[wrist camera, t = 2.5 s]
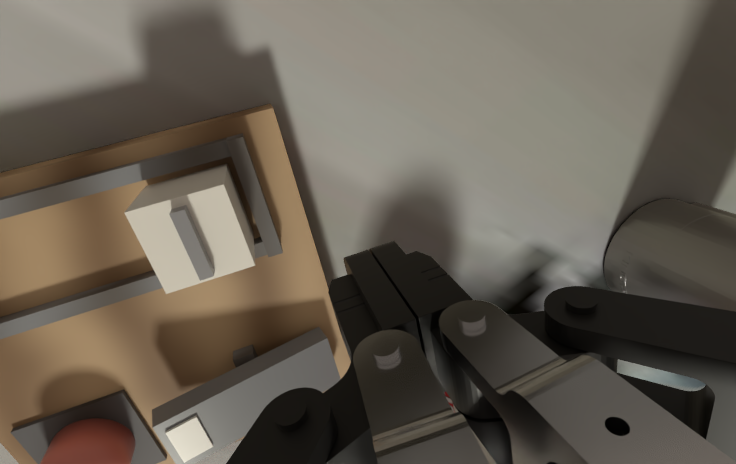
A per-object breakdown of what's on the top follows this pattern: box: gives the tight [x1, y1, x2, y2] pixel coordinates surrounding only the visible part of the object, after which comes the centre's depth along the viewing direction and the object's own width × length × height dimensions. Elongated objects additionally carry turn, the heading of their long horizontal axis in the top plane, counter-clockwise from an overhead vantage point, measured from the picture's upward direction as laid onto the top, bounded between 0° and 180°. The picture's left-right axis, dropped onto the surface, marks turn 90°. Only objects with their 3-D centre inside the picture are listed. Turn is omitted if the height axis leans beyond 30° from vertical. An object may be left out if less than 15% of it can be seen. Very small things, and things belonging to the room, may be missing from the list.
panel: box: [0, 104, 351, 464], centre depth 24 cm, size 20×20×4 cm
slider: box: [124, 164, 255, 294], centre depth 19 cm, size 4×4×5 cm
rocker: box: [152, 327, 341, 464], centre depth 24 cm, size 10×4×2 cm, turn 102°
